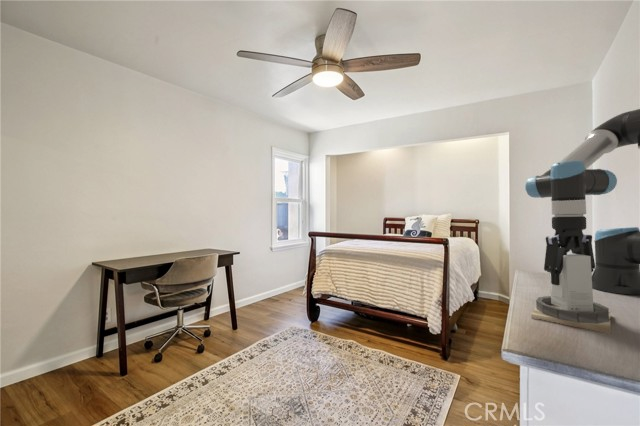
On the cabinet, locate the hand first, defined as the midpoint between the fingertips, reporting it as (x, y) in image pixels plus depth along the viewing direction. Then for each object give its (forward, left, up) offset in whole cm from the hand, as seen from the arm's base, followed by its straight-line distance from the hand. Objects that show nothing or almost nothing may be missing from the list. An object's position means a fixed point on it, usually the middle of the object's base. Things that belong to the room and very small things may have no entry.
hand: (570, 294), depth 83 cm
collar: (0, 0, -6) cm, 6 cm away
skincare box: (0, 0, -4) cm, 4 cm away
